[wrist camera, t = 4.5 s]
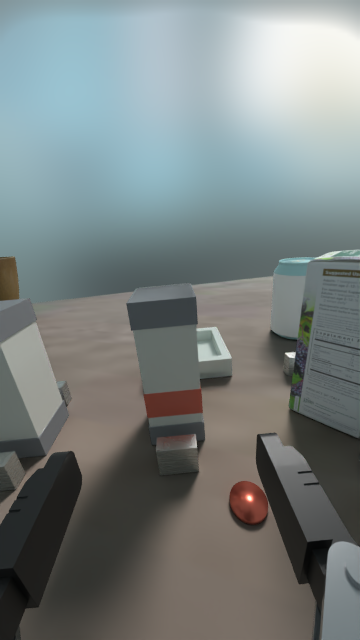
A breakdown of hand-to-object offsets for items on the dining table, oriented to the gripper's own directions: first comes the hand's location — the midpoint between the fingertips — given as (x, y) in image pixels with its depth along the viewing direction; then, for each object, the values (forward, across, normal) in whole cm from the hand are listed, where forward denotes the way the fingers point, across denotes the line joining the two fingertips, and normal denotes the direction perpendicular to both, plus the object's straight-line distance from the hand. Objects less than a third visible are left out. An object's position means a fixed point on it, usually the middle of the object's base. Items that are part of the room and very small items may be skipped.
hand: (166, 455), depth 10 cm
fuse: (+10, +14, +8) cm, 19 cm away
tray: (+21, -2, +8) cm, 23 cm away
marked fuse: (+10, 0, +8) cm, 13 cm away
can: (+27, -20, +8) cm, 35 cm away
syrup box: (+10, -15, +8) cm, 20 cm away
